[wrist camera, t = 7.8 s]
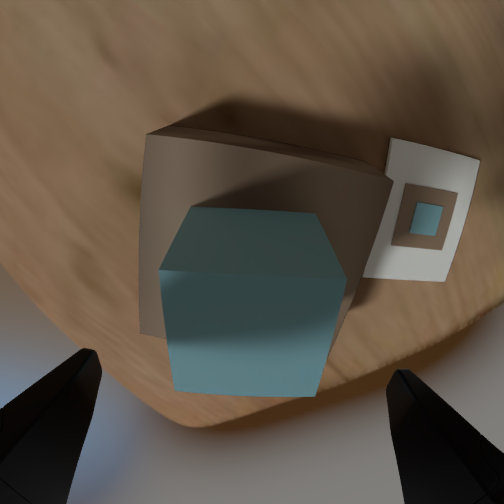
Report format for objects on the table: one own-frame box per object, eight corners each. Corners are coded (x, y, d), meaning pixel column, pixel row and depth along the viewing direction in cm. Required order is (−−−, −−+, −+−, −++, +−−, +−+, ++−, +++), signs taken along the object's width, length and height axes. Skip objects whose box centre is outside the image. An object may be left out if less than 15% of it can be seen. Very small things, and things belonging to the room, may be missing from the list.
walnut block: (364, 161, 16) (394, 181, 12) (315, 315, 20) (326, 360, 17) (171, 124, 15) (146, 134, 11) (158, 291, 20) (140, 333, 16)
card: (477, 159, 15) (481, 161, 14) (442, 279, 18) (445, 283, 18) (390, 137, 15) (394, 138, 14) (361, 274, 18) (363, 279, 18)
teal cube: (315, 213, 13) (347, 279, 8) (299, 313, 15) (315, 396, 11) (190, 206, 13) (158, 269, 8) (194, 308, 15) (175, 390, 11)
